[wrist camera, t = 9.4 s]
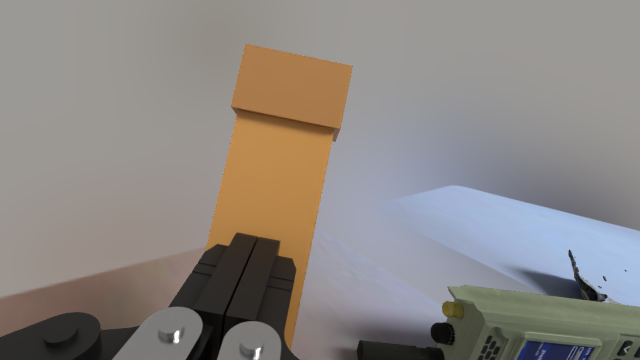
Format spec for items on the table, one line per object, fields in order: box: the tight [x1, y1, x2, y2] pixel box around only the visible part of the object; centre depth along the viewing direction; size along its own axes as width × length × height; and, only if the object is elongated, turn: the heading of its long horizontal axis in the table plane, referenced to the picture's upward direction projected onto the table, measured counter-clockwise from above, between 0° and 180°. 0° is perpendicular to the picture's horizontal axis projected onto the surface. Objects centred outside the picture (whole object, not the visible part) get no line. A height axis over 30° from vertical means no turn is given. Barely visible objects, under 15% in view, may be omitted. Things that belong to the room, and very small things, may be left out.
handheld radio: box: [357, 285, 640, 360], centre depth 22 cm, size 7×3×25 cm
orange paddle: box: [206, 44, 353, 350], centre depth 12 cm, size 4×2×15 cm, turn 87°
